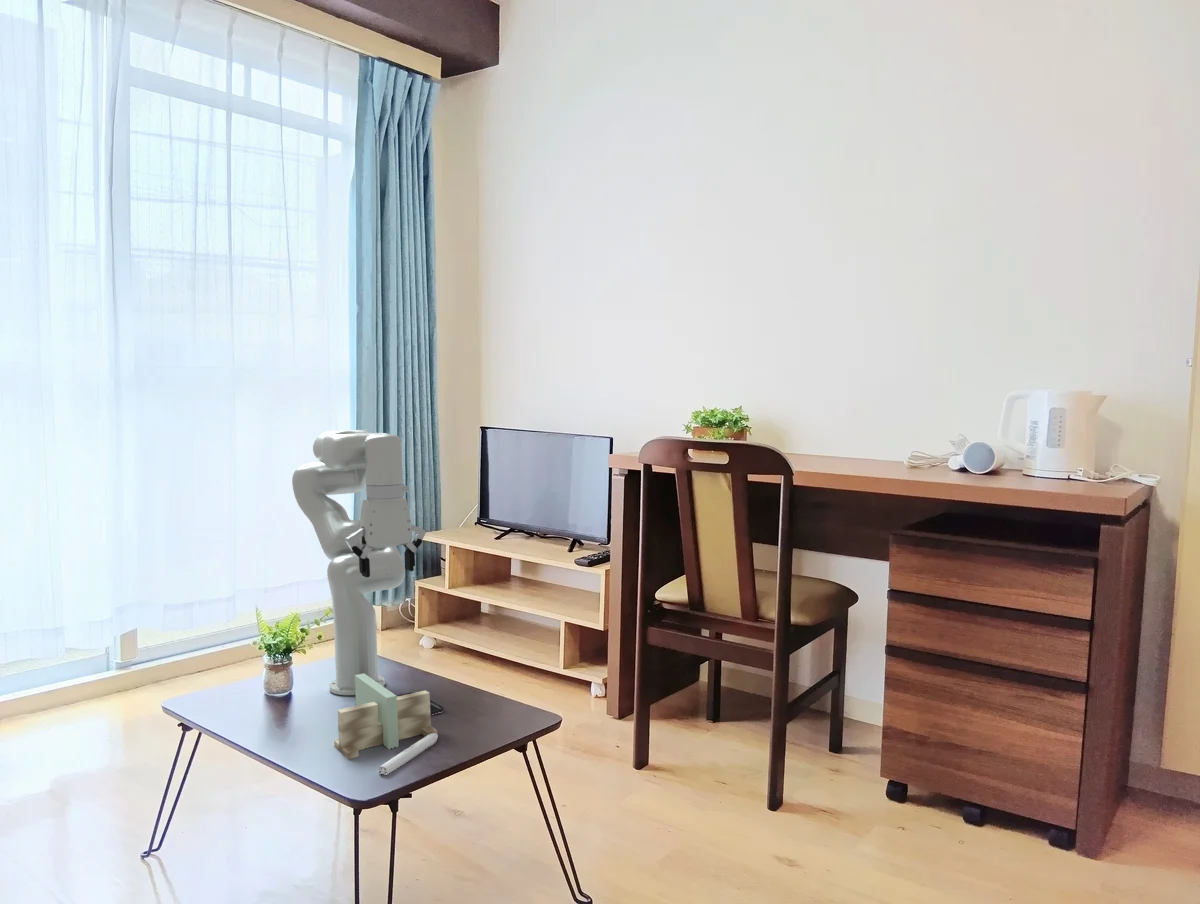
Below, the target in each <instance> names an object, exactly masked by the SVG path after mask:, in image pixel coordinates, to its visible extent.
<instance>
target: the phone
mask: <svg viewBox="0 0 1200 904" xmlns="http://www.w3.org/2000/svg"><path fill="white" fill-rule="evenodd" d="M416 692H417V691H415V692H414V691H412V692H411V691H410V692H406V693H403V694H402V693H401V694H398V695H396V696H397V697H398V696H402V695H407V694H411V693H416ZM443 710H444V707H443V706H441V705H440V704H438V703H437V702H435V701H433V700H431V699H430V715H432V714H435V713H438V712H442V711H443Z"/></svg>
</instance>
